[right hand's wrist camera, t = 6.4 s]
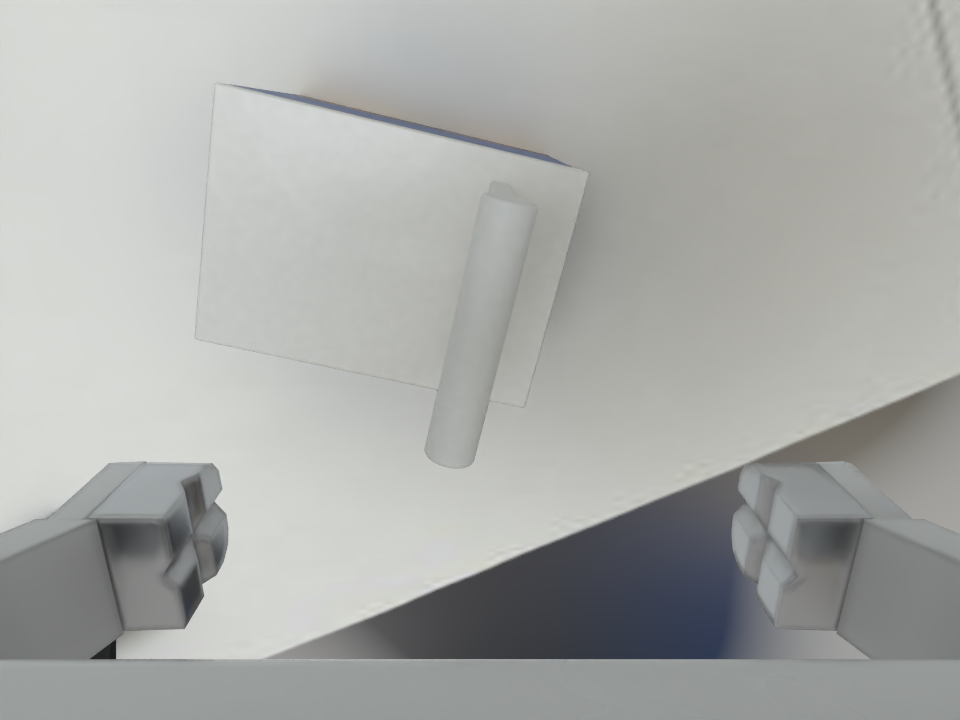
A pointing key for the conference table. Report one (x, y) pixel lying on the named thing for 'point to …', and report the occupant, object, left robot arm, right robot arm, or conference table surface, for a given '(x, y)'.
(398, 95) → the conference table surface
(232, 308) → the lid
